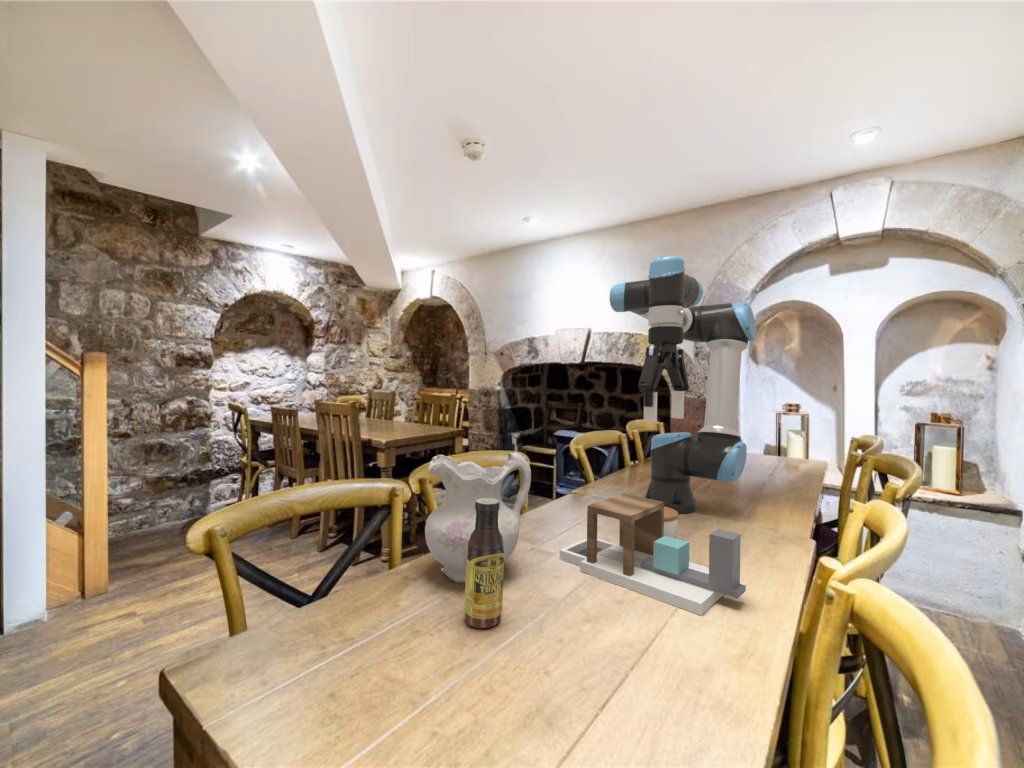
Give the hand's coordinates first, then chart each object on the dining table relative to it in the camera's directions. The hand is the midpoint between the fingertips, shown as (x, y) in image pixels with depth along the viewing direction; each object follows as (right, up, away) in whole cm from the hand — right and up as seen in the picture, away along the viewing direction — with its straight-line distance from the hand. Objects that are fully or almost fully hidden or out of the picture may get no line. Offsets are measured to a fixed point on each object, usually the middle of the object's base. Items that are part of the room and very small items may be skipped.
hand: (664, 420), depth 104 cm
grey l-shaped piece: (-1, -29, -17) cm, 33 cm away
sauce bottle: (-39, -31, -28) cm, 58 cm away
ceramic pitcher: (-42, -31, -9) cm, 53 cm away
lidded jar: (0, -31, +8) cm, 32 cm away
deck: (-9, -31, -10) cm, 33 cm away
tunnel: (-11, -29, -7) cm, 32 cm away
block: (-4, -28, -14) cm, 31 cm away
